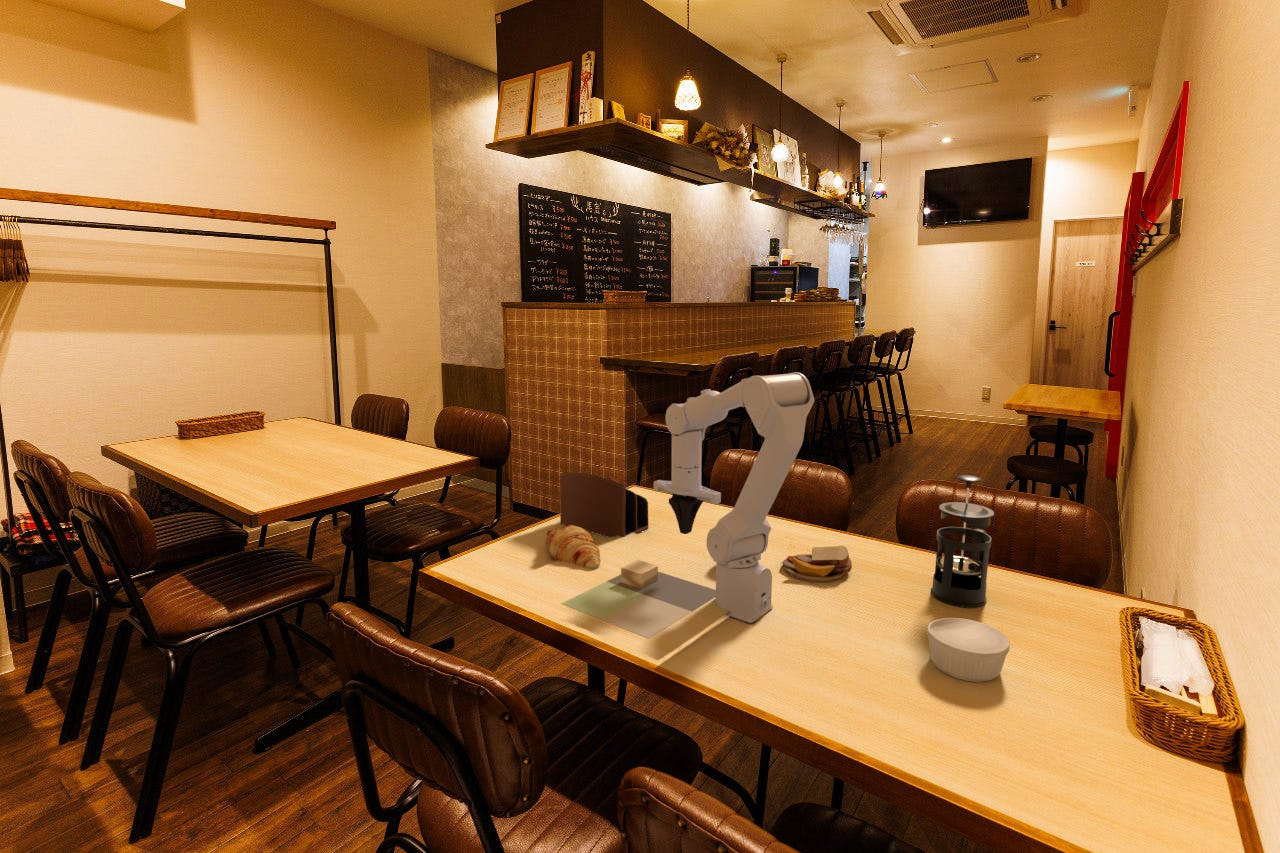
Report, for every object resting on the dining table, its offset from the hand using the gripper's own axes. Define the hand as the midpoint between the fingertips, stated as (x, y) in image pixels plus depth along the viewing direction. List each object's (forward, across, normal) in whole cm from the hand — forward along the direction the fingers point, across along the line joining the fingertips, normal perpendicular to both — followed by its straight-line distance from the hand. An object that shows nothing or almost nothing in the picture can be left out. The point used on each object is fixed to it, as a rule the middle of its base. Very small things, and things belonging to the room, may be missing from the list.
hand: (685, 532), depth 132 cm
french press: (+10, -45, -25) cm, 52 cm away
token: (+8, +4, +9) cm, 13 cm away
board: (+9, 0, +14) cm, 17 cm away
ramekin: (+10, -52, 0) cm, 53 cm away
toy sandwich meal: (+10, -19, -20) cm, 29 cm away
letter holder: (+10, +33, -12) cm, 36 cm away
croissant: (+10, +25, +6) cm, 28 cm away
